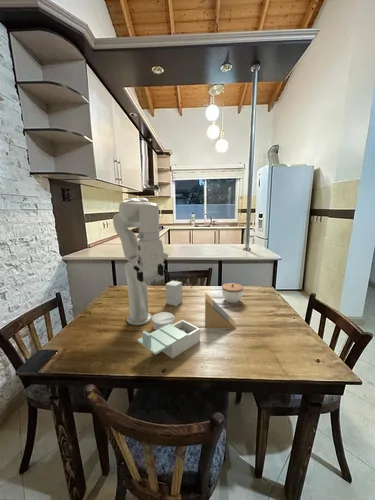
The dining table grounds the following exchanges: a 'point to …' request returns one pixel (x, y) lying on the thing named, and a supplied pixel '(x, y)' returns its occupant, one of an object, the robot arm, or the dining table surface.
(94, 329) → the dining table surface
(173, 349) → the box
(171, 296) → the supplement box
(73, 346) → the dining table surface
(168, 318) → the ramekin
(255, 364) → the dining table surface
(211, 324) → the sandwich container
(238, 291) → the lidded bowl
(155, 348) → the lid
